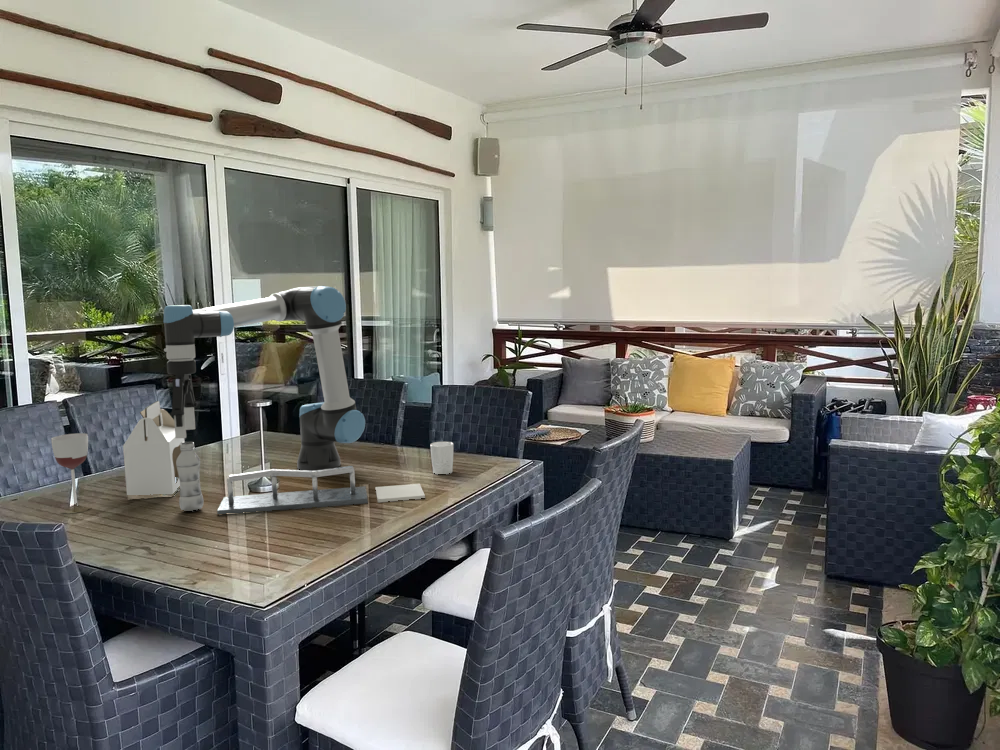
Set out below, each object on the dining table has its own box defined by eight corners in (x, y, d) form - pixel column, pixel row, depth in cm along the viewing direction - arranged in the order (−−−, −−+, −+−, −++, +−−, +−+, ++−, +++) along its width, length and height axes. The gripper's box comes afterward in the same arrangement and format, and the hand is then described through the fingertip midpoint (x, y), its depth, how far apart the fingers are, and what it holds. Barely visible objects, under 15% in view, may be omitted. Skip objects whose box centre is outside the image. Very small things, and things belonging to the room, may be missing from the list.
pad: (375, 490, 232) (375, 487, 232) (419, 486, 235) (419, 483, 235) (377, 502, 218) (377, 499, 218) (425, 498, 221) (424, 495, 221)
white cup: (455, 469, 256) (455, 441, 255) (452, 475, 248) (451, 446, 247) (433, 469, 257) (432, 441, 255) (429, 475, 249) (428, 446, 248)
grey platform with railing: (224, 501, 222) (222, 469, 221) (365, 490, 231) (364, 459, 230) (217, 515, 208) (215, 481, 207) (367, 503, 217) (366, 470, 216)
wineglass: (101, 506, 220) (94, 434, 217) (73, 515, 211) (66, 440, 208) (79, 504, 223) (72, 432, 220) (50, 513, 214) (43, 439, 211)
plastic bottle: (209, 508, 215) (204, 441, 213) (190, 515, 209) (185, 446, 207) (193, 506, 218) (188, 440, 216) (174, 513, 212) (169, 444, 209)
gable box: (145, 482, 247) (139, 400, 244) (187, 479, 250) (181, 398, 246) (127, 501, 225) (119, 410, 222) (173, 497, 228) (166, 408, 225)
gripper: (176, 356, 220) (180, 426, 222) (156, 364, 195) (161, 442, 198) (202, 355, 221) (206, 425, 224) (186, 363, 197) (191, 441, 199)
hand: (185, 433), depth 211 cm, fingers open, 13 cm apart
